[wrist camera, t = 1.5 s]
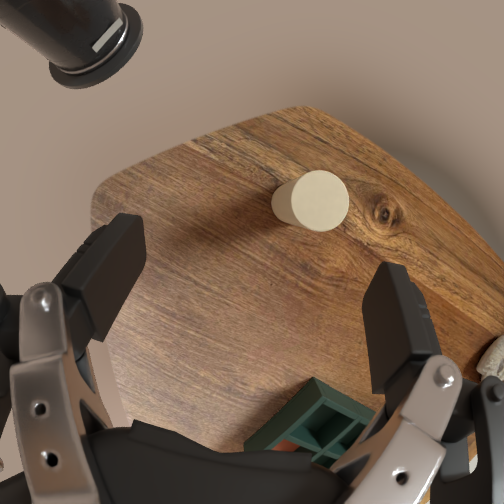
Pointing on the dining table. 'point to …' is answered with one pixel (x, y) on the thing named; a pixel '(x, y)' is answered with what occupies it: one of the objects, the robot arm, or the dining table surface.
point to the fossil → (493, 360)
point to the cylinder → (312, 201)
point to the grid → (314, 424)
